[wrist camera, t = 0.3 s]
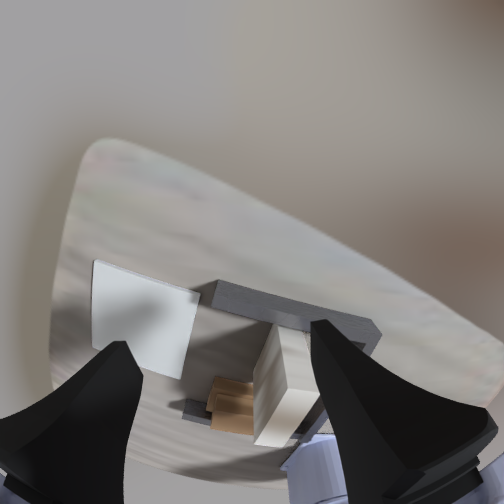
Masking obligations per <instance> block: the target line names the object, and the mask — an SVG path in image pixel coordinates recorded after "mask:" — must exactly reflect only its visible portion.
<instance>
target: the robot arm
mask: <svg viewBox="0 0 504 504" xmlns="http://www.w3.org/2000/svg"><path fill="white" fill-rule="evenodd" d="M310 336H311V364H312V369H313V373H314V377H315V381H316V385H317V387H318V390H319V393H320V395H321V398H322V401H323V404H324V406H325V409H326V412H327V414H328V417H329V420H330V422H331V425H332V428H333V431H334V434H315V435H314V436H313V438H312V439H311V440H310V441H309V442H308V443H301V444H300V445H299V446H298V448H297V449H296V450H295V451H294V452H293V453H292V455H291V456H290V457H289V458H288V459H287V460H286V461H285V462H284V464H283V465H282V466H281V467H280V470H282V471H287V479H288V489H289V499H290V504H504V452H503V453H502V454H501V455H500V456H499V457H497V458H496V459H495V460H494V461H492V462H491V463H490V464H488V465H487V466H486V467H485V468H483V469H482V470H481V471H478V469H477V467H476V466H478V465H479V464H480V461H479V459H478V457H477V455H478V454H479V453H480V452H481V451H482V450H483V449H484V448H485V447H486V446H487V445H488V444H489V443H490V442H491V441H492V440H493V438H494V437H495V436H496V434H497V433H498V426H497V425H496V423H495V422H494V420H493V419H492V417H491V416H490V414H489V413H488V411H487V410H486V409H485V408H482V407H477V406H472V405H468V404H464V403H459V402H456V401H453V400H450V399H447V398H444V397H441V396H438V395H436V394H433V393H431V392H428V391H426V390H424V389H422V388H420V387H417V386H415V385H413V384H411V383H409V382H407V381H405V380H404V379H402V378H400V377H399V376H397V375H395V374H393V373H392V372H390V371H389V370H387V369H386V368H384V367H383V366H381V365H380V364H379V363H377V362H376V361H375V360H373V359H372V358H371V357H369V356H368V355H367V354H365V353H364V352H363V351H362V350H361V349H359V348H358V347H357V346H356V345H355V344H353V343H352V342H351V341H350V340H349V339H348V338H347V337H346V336H345V335H343V334H342V333H341V332H340V331H339V330H338V329H337V328H336V327H335V326H334V325H333V324H332V323H331V322H330V321H329V320H327V319H322V320H317V321H311V322H310ZM142 383H143V374H142V372H141V370H140V368H139V366H138V364H137V362H136V361H135V359H134V357H133V355H132V353H131V351H130V348H129V346H128V344H127V342H126V341H113V342H111V343H110V344H109V345H107V346H106V347H105V348H104V349H103V350H101V351H100V352H99V353H98V354H97V355H96V356H95V357H94V358H92V359H91V360H90V361H89V362H88V363H87V364H86V365H85V366H84V367H82V368H81V369H80V370H79V371H78V372H77V373H76V374H74V375H73V376H72V377H71V378H70V379H68V380H67V381H66V382H65V383H64V384H63V385H61V386H60V387H59V388H57V389H56V390H55V391H53V392H52V393H51V394H49V395H48V396H46V397H45V398H43V399H42V400H40V401H38V402H36V403H35V404H33V405H32V406H30V407H28V408H26V409H24V410H22V411H20V412H18V413H16V414H13V415H11V416H8V417H6V418H3V419H0V468H1V469H2V470H4V471H5V472H6V473H7V476H6V477H5V476H3V475H2V474H1V473H0V504H124V495H123V479H124V463H125V455H126V447H127V442H128V438H129V434H130V431H131V427H132V424H133V420H134V417H135V414H136V410H137V407H138V403H139V400H140V396H141V390H142Z"/></svg>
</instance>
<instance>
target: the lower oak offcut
mask: <svg viewBox="0 0 504 504" xmlns="http://www.w3.org/2000/svg"><path fill="white" fill-rule="evenodd" d="M217 394H222V395H227V396H233V397H239V398H245V399H251V400H253V385H252V384H247V383H242V382H237V381H233V380H229V379H224V378H220V377H216V376H215V379H214V382H213V385H212V388H211V391H210V394H209V398H208V401H207V407H206V411H210V412H213V408H214V404H215V401H216V397H217Z"/></svg>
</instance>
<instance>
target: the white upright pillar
mask: <svg viewBox="0 0 504 504" xmlns="http://www.w3.org/2000/svg"><path fill="white" fill-rule="evenodd" d="M319 396H320V393H319V390H318V387H317V385H316V381H315V377H314V373H313V369H312V364H311V357H310V353H309V350H308V347H307V344H306V340H305V337H304V334H303V331H302V330H298V329H294V328H290V327H285V326H281V325H277V324H273V325H272V327H271V330H270V332H269V335H268V337H267V340H266V342H265V344H264V347H263V349H262V352H261V354H260V356H259V359H258V361H257V363H256V366H255V368H254V370H253V414H254V444H255V445H263V446H271V447H281V448H282V447H283V446H284V444H285V443H286V442H287V441H288V439H289V438H290V437H291V435H292V434H293V433H294V431H295V430H296V429H297V427H298V426H299V425H300V423H301V422H302V420H303V419H304V418H305V416H306V415H307V413H308V412H309V410H310V409H311V408H312V406H313V405H314V403H315V402H316V400H317V399H318V397H319Z"/></svg>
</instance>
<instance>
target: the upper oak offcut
mask: <svg viewBox="0 0 504 504" xmlns="http://www.w3.org/2000/svg"><path fill="white" fill-rule="evenodd" d="M210 429H214V430H220V431H225V432H232V433H238V434H246V435H254V414H253V400H251V399H245V398H239V397H233V396H227V395H222V394H217V397H216V401H215V404H214V408H213V412H212V418H211V426H210Z"/></svg>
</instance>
